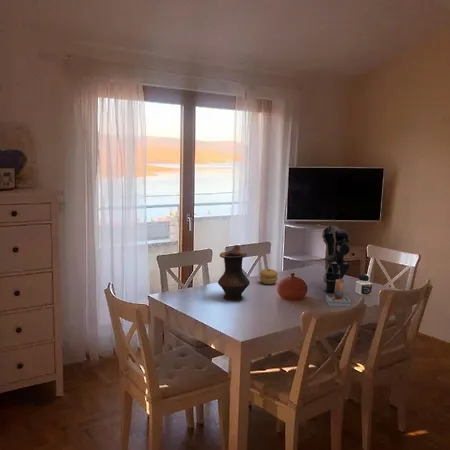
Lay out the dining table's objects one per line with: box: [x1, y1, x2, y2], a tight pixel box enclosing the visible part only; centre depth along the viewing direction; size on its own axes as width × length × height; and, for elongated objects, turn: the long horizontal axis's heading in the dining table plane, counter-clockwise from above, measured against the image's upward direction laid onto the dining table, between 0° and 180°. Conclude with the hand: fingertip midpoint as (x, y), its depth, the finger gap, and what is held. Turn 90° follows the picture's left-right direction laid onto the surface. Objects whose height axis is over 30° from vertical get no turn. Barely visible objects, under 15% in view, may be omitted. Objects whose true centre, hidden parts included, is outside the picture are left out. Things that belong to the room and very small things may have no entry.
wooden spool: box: [332, 279, 345, 301], centre depth 287 cm, size 6×6×12 cm
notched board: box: [325, 294, 352, 308], centre depth 288 cm, size 12×12×3 cm
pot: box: [258, 268, 279, 285], centre depth 326 cm, size 12×12×10 cm
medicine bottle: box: [355, 273, 373, 296], centre depth 309 cm, size 7×7×12 cm
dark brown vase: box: [217, 244, 251, 301], centre depth 291 cm, size 21×18×30 cm
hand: (337, 277), depth 296 cm, fingers open, 9 cm apart
